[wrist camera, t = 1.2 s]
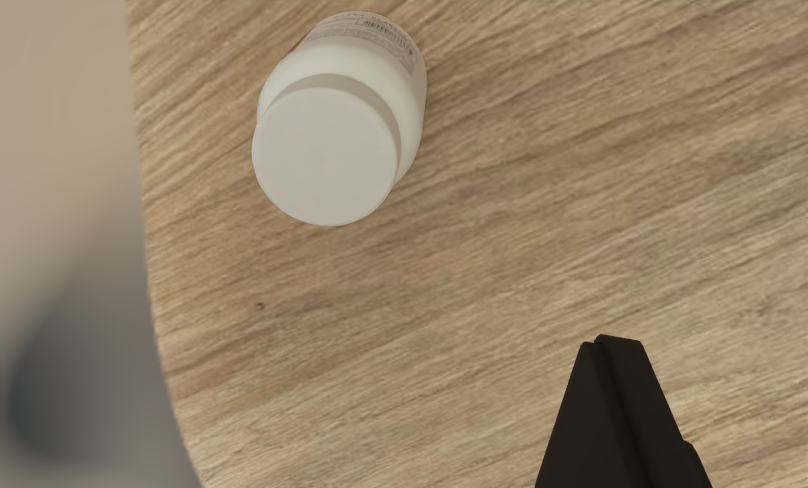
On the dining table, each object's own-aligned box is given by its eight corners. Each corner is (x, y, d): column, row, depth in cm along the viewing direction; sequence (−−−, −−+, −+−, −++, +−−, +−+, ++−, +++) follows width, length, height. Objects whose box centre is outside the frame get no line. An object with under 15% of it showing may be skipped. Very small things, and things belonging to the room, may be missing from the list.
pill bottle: (278, 20, 23) (206, 82, 17) (416, -2, 23) (401, 52, 16) (308, 151, 25) (255, 256, 18) (436, 134, 25) (430, 235, 18)
